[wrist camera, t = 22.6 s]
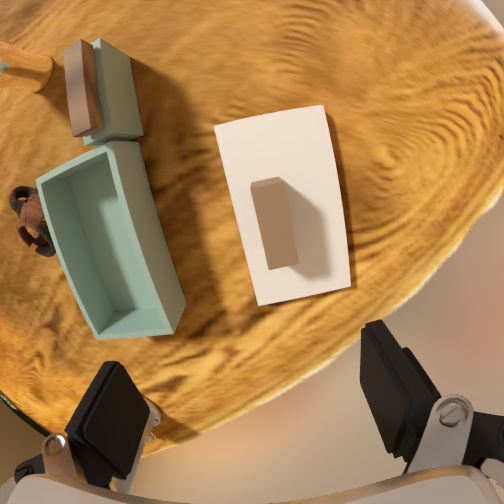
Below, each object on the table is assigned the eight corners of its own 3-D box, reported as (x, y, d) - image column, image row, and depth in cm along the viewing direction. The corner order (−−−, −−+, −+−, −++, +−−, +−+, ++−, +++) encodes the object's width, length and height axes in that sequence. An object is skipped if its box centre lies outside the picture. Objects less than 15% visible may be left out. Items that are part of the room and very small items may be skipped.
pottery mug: (90, 193, 32) (60, 238, 27) (80, 229, 38) (58, 270, 33) (29, 156, 27) (-6, 195, 22) (27, 196, 33) (0, 233, 28)
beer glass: (33, 56, 23) (-31, 43, 9) (61, 51, 24) (-8, 30, 10) (22, 96, 25) (-47, 94, 11) (48, 94, 26) (-27, 87, 12)
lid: (346, 278, 35) (365, 308, 28) (258, 297, 36) (258, 331, 29) (318, 108, 28) (336, 95, 21) (216, 127, 29) (204, 120, 22)
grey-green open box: (192, 302, 37) (178, 337, 29) (116, 313, 38) (94, 343, 30) (129, 56, 25) (99, 38, 18) (55, 96, 26) (19, 92, 19)
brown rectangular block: (104, 128, 21) (90, 127, 19) (86, 136, 21) (72, 136, 19) (93, 45, 18) (81, 39, 15) (76, 54, 18) (63, 49, 16)
